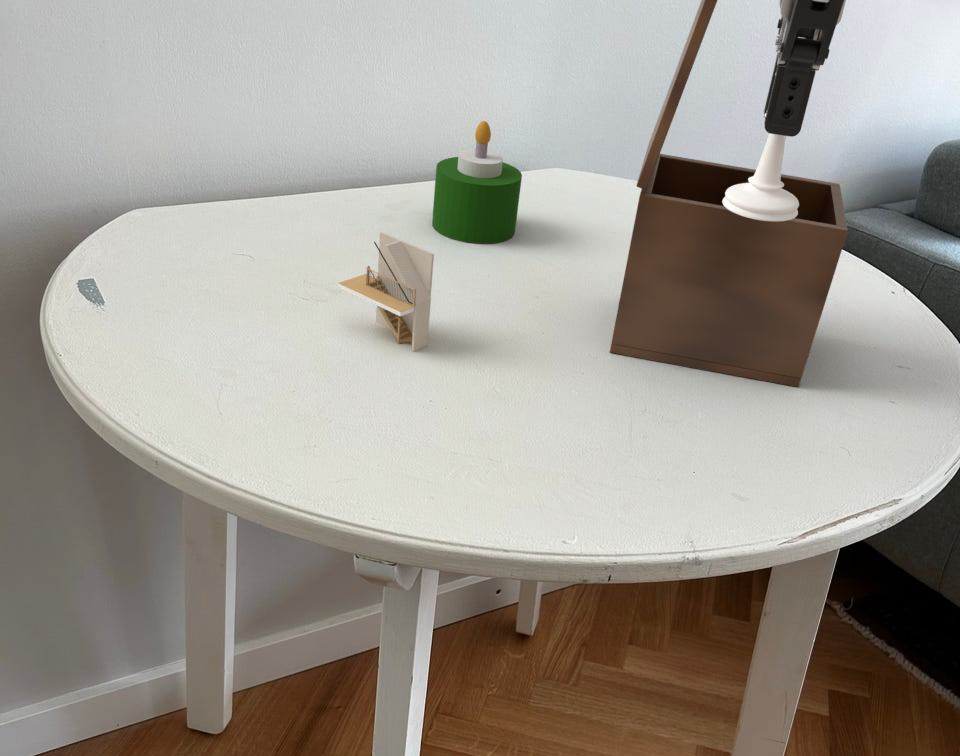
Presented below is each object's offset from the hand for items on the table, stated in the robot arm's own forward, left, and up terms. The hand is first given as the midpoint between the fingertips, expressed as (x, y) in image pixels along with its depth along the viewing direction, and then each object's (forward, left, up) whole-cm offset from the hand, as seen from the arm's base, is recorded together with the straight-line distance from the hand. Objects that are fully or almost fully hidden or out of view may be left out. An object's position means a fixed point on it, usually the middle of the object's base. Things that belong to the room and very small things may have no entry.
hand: (780, 126), depth 69 cm
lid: (+6, -16, 0) cm, 17 cm away
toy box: (0, -16, -21) cm, 27 cm away
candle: (+24, -33, -22) cm, 47 cm away
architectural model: (+25, -6, -22) cm, 34 cm away
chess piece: (0, 0, -5) cm, 5 cm away
